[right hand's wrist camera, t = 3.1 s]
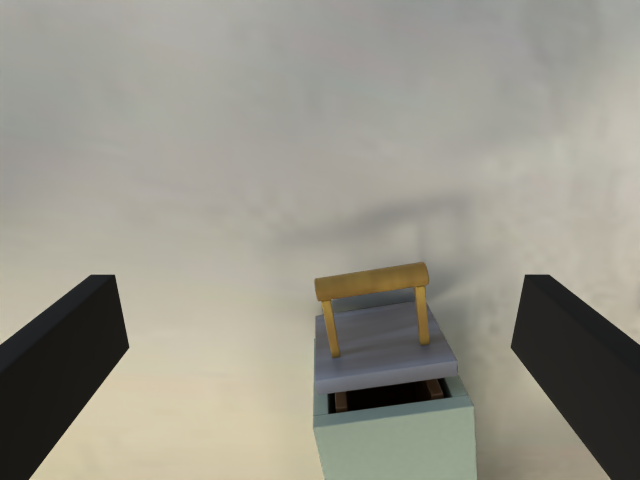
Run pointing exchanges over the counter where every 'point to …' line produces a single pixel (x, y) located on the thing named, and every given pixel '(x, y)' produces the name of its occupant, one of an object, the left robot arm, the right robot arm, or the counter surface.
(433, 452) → the cabinet
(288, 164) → the counter surface
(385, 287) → the drawer
